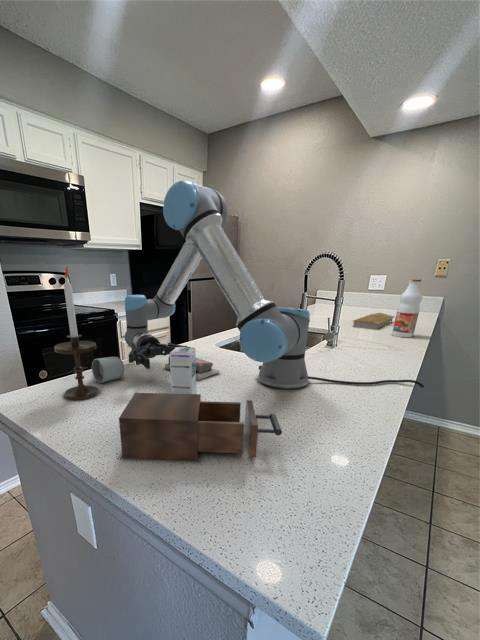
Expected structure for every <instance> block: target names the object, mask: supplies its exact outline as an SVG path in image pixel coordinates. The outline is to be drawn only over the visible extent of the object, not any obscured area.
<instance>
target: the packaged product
mask: <svg viewBox="0 0 480 640" xmlns="http://www.w3.org/2000/svg"><path fill="white" fill-rule="evenodd" d="M167 362H168V363H165V364H164V368H165V369H167V370H170V355H169V356H168V361H167ZM213 366H214V363H213V362H212V361H208V360H205V359H202V358H198V357H196V380H198V381H199V380H203V379H205V378H207V377H210V376H214V375H217V374H219V373H220V370H219V369H216V368H213Z"/></svg>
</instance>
